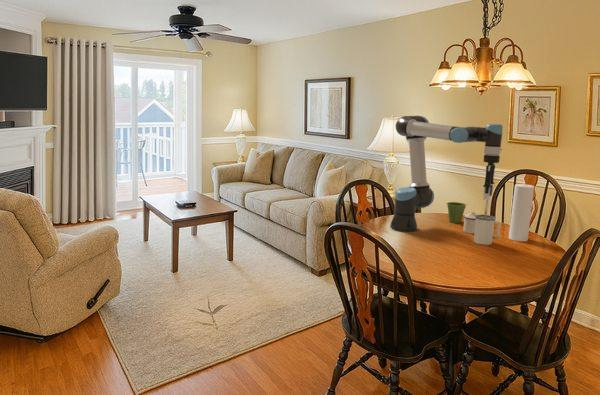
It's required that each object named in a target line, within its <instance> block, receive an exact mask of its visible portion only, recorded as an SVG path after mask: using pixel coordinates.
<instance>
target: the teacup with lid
mask: <svg viewBox="0 0 600 395" xmlns="http://www.w3.org/2000/svg"><path fill="white" fill-rule="evenodd" d="M476 215H478V214H477V213H475V211H471V212H470V213H468V214H465V215H463V228H462V230H463V232H464V233H466V234H471V235H474V233H475V223H476V218H475V216H476Z"/></svg>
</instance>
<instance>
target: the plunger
mask: <svg viewBox="0 0 600 395" xmlns="http://www.w3.org/2000/svg"><path fill="white" fill-rule="evenodd" d="M483 188H485V187H483ZM493 189H494V185H493V186H492V185H490V196H491V197H492V196H493ZM490 196H489V197H490ZM488 204H489V200H485V207H484V208H485V209H484V215H485V216H484V218H486V217H487V215H488V207H489V206H488Z"/></svg>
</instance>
